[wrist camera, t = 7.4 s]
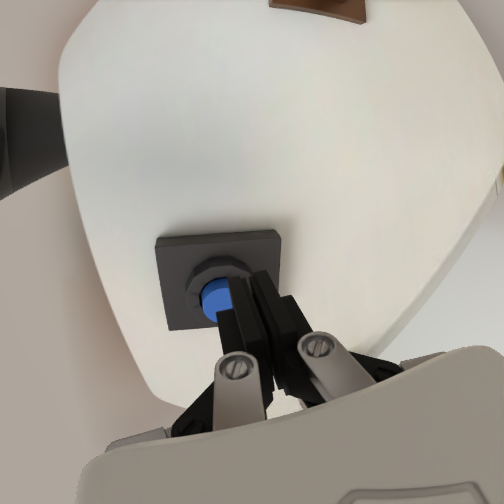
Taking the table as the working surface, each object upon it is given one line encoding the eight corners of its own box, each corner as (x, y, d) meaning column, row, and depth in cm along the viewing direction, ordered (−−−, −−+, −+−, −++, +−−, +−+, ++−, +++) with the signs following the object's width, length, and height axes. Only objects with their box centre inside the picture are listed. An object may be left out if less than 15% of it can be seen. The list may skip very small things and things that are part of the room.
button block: (169, 318, 32) (168, 342, 29) (156, 238, 28) (152, 255, 25) (271, 308, 35) (280, 330, 31) (275, 229, 30) (287, 245, 27)
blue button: (203, 314, 29) (204, 325, 27) (200, 279, 27) (200, 289, 25) (243, 310, 29) (246, 321, 28) (242, 276, 28) (246, 285, 26)
